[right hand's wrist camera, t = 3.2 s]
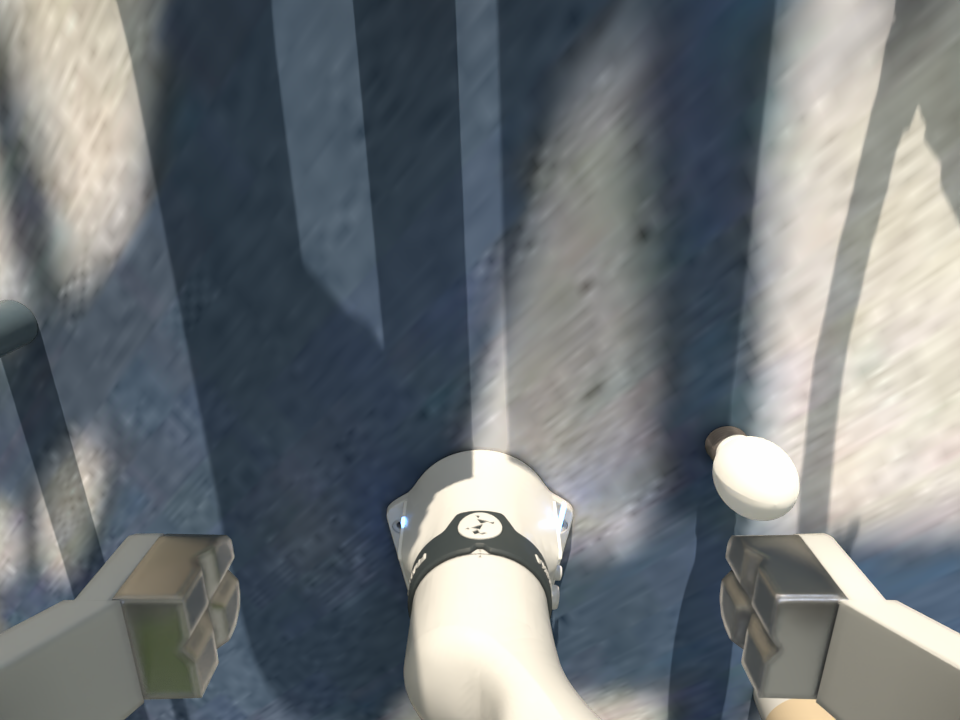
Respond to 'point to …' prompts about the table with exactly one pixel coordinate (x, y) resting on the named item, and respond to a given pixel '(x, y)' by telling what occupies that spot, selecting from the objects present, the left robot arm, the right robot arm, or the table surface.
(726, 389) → the table surface
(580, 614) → the table surface
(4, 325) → the blue gray cylinder
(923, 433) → the table surface
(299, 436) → the table surface
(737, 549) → the right robot arm
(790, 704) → the coffee cup
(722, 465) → the light bulb
